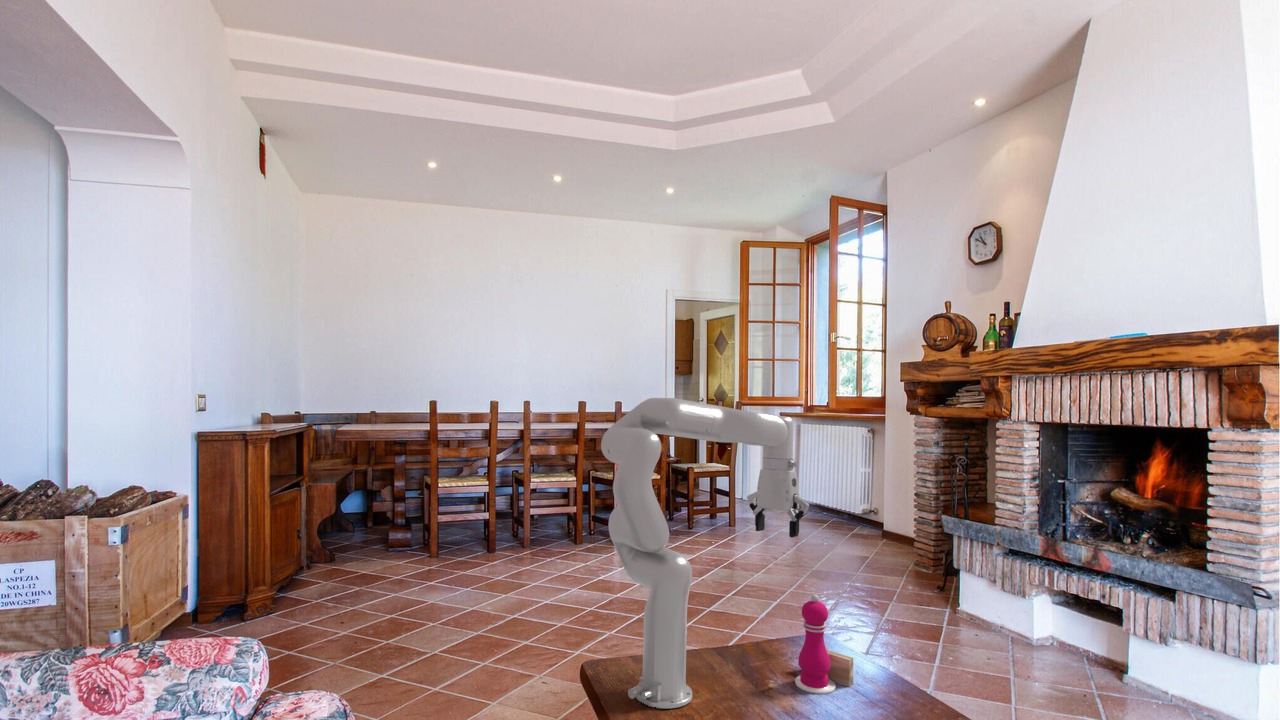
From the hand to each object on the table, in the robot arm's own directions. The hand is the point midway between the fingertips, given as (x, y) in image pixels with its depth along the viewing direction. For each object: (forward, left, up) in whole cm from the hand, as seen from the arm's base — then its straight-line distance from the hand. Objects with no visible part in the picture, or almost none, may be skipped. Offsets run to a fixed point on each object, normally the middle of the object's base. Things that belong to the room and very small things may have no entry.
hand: (776, 533), depth 164 cm
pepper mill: (-4, -13, -32) cm, 34 cm away
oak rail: (+3, -13, -32) cm, 35 cm away
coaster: (-3, -13, -32) cm, 35 cm away
